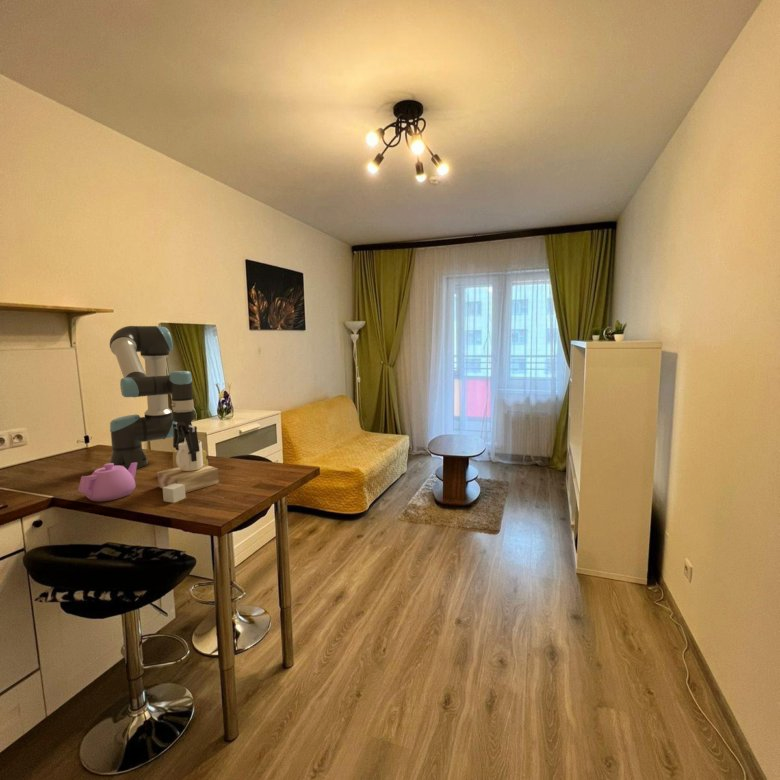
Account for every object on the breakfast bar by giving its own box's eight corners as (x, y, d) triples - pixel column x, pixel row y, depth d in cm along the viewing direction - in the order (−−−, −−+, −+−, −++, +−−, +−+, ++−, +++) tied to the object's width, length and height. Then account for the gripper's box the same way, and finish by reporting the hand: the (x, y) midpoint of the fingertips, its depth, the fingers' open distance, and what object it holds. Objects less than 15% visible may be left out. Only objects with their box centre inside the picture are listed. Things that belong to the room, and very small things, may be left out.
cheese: (208, 466, 188) (207, 445, 187) (195, 474, 177) (193, 451, 176) (187, 466, 189) (185, 445, 188) (172, 473, 178) (170, 451, 177)
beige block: (163, 501, 146) (162, 487, 146) (175, 496, 151) (174, 483, 150) (173, 503, 144) (172, 489, 144) (185, 498, 149) (184, 484, 149)
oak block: (158, 486, 161) (157, 472, 161) (197, 476, 174) (196, 462, 173) (178, 495, 152) (177, 479, 151) (218, 482, 165) (217, 468, 164)
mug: (186, 474, 155) (184, 448, 154) (168, 473, 157) (166, 447, 156) (207, 465, 167) (206, 440, 166) (190, 464, 169) (188, 440, 168)
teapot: (97, 508, 141) (94, 474, 139) (66, 503, 146) (62, 470, 144) (153, 487, 161) (150, 457, 160) (124, 483, 166) (121, 454, 165)
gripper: (160, 409, 163) (164, 465, 165) (187, 414, 150) (192, 474, 153) (179, 407, 169) (183, 461, 171) (207, 411, 157) (211, 469, 159)
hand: (187, 467), depth 162 cm, fingers closed on mug, 8 cm apart
